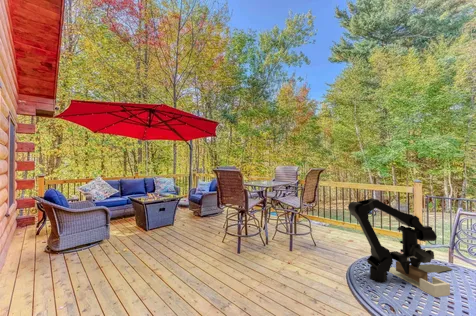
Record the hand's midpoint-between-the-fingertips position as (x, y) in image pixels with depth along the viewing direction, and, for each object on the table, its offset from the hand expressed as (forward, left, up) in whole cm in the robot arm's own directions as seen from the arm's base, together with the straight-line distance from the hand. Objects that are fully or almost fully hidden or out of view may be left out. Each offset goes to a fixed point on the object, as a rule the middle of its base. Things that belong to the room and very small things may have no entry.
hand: (410, 273), depth 100 cm
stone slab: (+22, +8, -4) cm, 24 cm away
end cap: (0, -10, -3) cm, 10 cm away
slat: (0, 0, -1) cm, 1 cm away
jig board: (0, 0, -4) cm, 4 cm away
